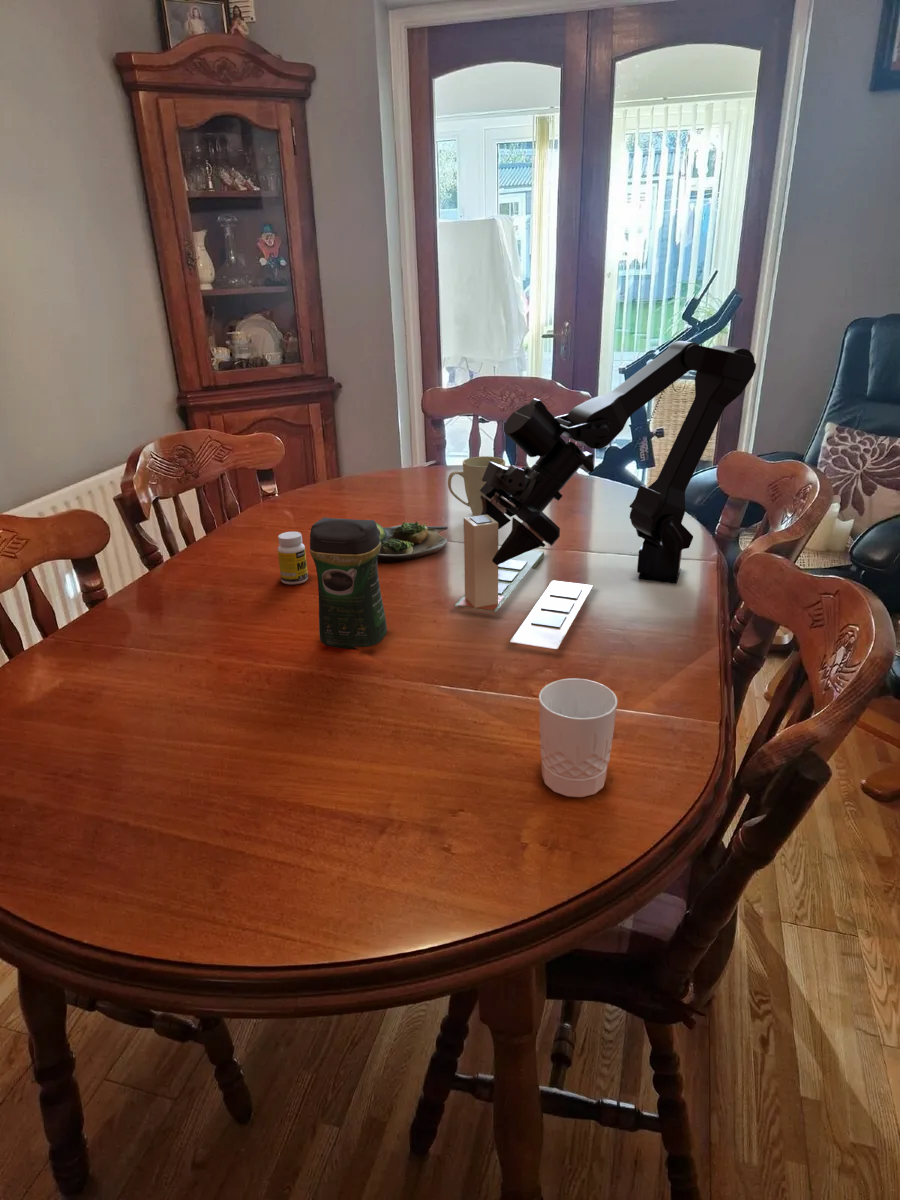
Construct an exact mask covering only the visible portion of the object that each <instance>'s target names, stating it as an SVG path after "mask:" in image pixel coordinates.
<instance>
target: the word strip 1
mask: <svg viewBox="0 0 900 1200" xmlns="http://www.w3.org/2000/svg"><path fill="white" fill-rule="evenodd" d="M544 557H545V551H544V550H537V549H536V550H535V549H533V550H530V551H528V552H525V553H523V554H520V555H518V556H516V557H514V558H512V559H509V560H507V561H505V562H503V563H501V564H499V565H498V604H495V605H489V606H483V607H477V608H475V607H474V606H473V605H472V604H471V603H470V602H469V601H468V600H467V599H466V598H465V594H463V596H462V597H460V599H459V600H458V601H457V603H456V604H455V605H454V607H458V608H459V607H460V608H467V609H471V610H472V609H474V610H479V611H480V610H481V611H487V612H493V613H497V612H498V611H499V609H500V608H501V607H502V605H503V604H504V603H505V602H506V601H507V599H508V598H509V597H510V596H511V594H512V593H513V592H514V590H515V589H516V588H517V587H518V586H519V584H520V583H521V581H522V580H523V579H524V578H525V577H526V575H527V574H528V573H529V571H530V570H531V569H532V570H534V569H536V567H537V566H538V565H539V563H540V562H541V561H542V560H543V558H544Z"/></svg>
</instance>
